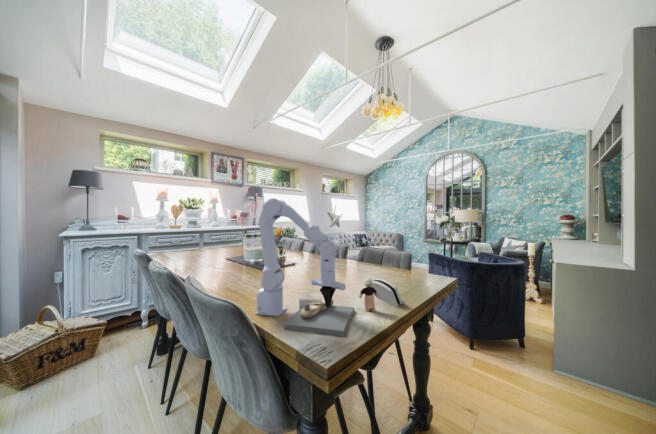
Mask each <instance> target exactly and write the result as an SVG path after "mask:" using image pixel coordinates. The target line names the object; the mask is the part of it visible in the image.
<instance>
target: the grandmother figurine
mask: <svg viewBox="0 0 656 434" xmlns="http://www.w3.org/2000/svg"><path fill="white" fill-rule="evenodd" d="M373 281H374V280H373V279H372V278H371V277H367V278H365V279H364V280H363V283H364V284H363V285H365V287H364V288H362V289H361V290H360V293H359V295H358V297H359V298H360V299H361V298H362V296H364V308H363V309H364V311H365V312H367V313H369V312H370V311H371V312H376V307H375V296H373V293H375V295H376V298H377V297H379V295H378V293H377V291H376V290H375V289H374V288H373V287H371V285H372V284H373Z"/></svg>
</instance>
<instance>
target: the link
mask: <svg viewBox="0 0 656 434" xmlns="http://www.w3.org/2000/svg"><path fill="white" fill-rule="evenodd" d="M332 305H334V299H333V298H332V300H331V306H332ZM329 307H330V306H329ZM326 308H328V307H326V303H325V300H324V299H322V303H321V304H314V305H311V306H310V305H309V304H305V305H304V308H303V309H301V317H302V318H311V317H313V315H314V314H316V313H318V312H320V311H322V310H324V309H326Z"/></svg>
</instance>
